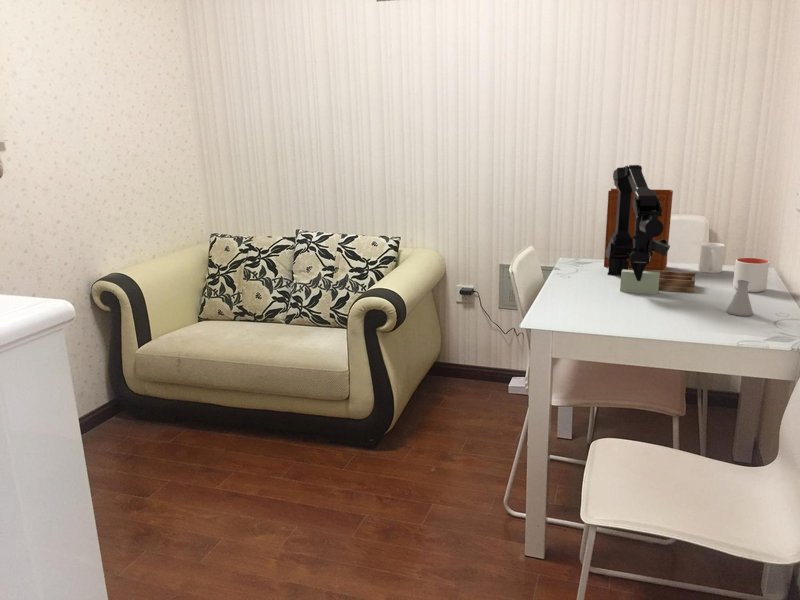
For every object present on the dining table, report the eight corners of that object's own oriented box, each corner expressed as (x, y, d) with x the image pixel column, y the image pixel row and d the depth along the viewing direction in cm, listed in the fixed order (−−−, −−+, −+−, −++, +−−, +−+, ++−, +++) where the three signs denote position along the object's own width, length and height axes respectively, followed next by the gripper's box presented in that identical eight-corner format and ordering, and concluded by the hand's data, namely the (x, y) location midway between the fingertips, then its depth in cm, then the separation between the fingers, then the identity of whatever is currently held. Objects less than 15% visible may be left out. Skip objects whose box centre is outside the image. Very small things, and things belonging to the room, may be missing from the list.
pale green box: (619, 291, 227) (621, 271, 225) (621, 289, 231) (622, 269, 229) (657, 294, 222) (659, 274, 221) (658, 292, 226) (659, 271, 224)
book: (603, 266, 264) (608, 190, 257) (606, 262, 272) (611, 188, 264) (665, 270, 256) (672, 192, 248) (666, 266, 263) (673, 189, 255)
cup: (768, 294, 220) (771, 264, 217) (734, 292, 223) (738, 263, 220) (762, 287, 229) (766, 258, 226) (730, 285, 232) (734, 257, 230)
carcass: (637, 288, 230) (638, 275, 229) (640, 281, 240) (640, 269, 239) (693, 292, 223) (695, 279, 222) (694, 285, 233) (695, 272, 232)
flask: (753, 311, 201) (758, 279, 198) (752, 318, 195) (756, 284, 192) (727, 308, 204) (731, 277, 202) (724, 314, 198) (728, 282, 196)
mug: (723, 276, 245) (726, 248, 242) (698, 274, 248) (701, 247, 245) (721, 269, 256) (724, 243, 253) (697, 268, 259) (700, 242, 256)
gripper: (668, 238, 210) (663, 286, 214) (671, 229, 226) (667, 273, 230) (630, 236, 214) (627, 283, 218) (636, 227, 231) (633, 271, 235)
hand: (640, 277), depth 225 cm, fingers open, 9 cm apart
